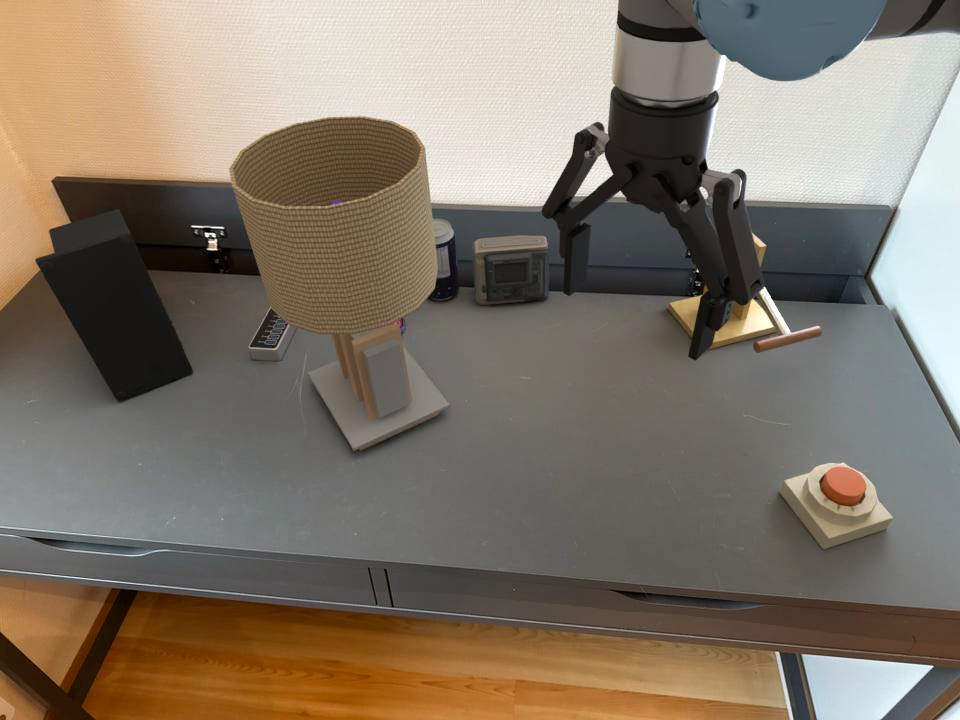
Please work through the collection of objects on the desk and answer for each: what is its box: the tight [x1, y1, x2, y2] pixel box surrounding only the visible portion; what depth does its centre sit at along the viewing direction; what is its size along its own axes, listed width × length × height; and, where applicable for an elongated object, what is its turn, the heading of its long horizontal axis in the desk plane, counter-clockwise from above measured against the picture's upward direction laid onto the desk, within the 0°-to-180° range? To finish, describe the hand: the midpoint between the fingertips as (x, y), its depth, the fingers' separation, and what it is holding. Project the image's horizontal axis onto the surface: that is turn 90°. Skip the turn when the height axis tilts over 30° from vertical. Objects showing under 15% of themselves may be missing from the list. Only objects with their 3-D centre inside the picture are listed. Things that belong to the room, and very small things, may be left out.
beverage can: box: [428, 218, 460, 301], centre depth 107 cm, size 6×6×12 cm
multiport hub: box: [247, 306, 298, 362], centre depth 106 cm, size 4×14×2 cm, turn 172°
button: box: [821, 466, 866, 506], centre depth 76 cm, size 4×4×2 cm
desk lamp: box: [228, 115, 451, 452], centre depth 82 cm, size 20×20×35 cm
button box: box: [778, 462, 894, 550], centre depth 77 cm, size 8×8×4 cm
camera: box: [471, 234, 550, 306], centre depth 106 cm, size 11×6×10 cm, turn 92°
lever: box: [752, 286, 823, 354], centre depth 92 cm, size 16×9×2 cm, turn 17°
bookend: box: [34, 208, 194, 402], centre depth 98 cm, size 23×11×24 cm, turn 31°
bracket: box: [667, 232, 777, 351], centre depth 98 cm, size 10×12×14 cm
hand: (634, 318), depth 64 cm, fingers open, 13 cm apart
